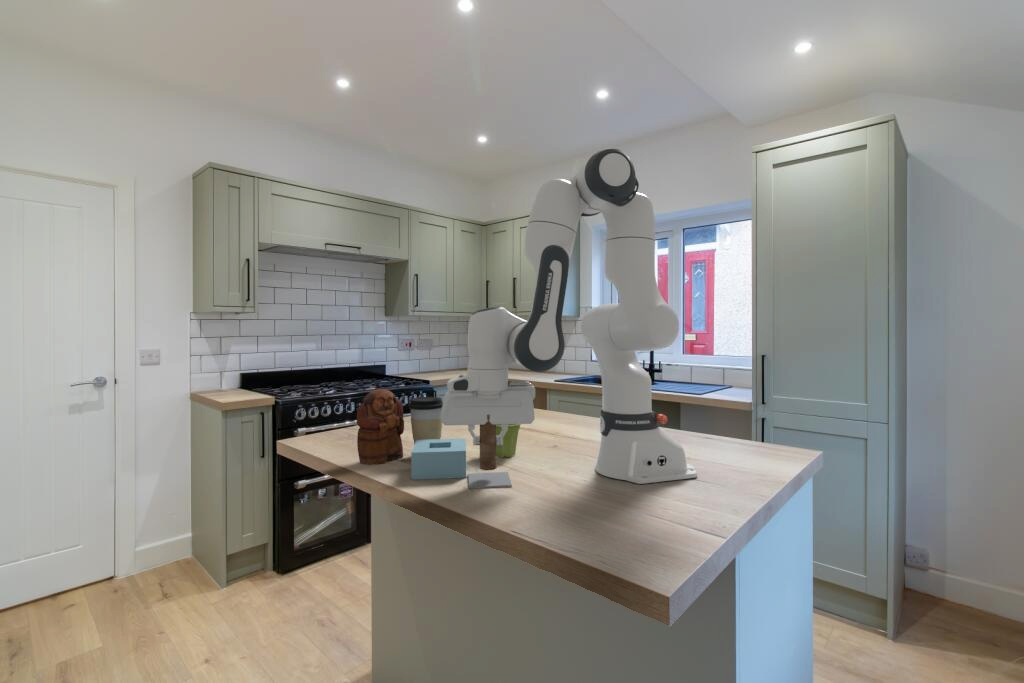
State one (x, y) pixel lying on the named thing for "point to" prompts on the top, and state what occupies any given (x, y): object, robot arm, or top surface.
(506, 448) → the plant pot
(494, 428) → the peg
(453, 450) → the socket
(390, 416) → the wooden figurine
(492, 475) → the pad
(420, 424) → the coffee cup
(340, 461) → the top surface
